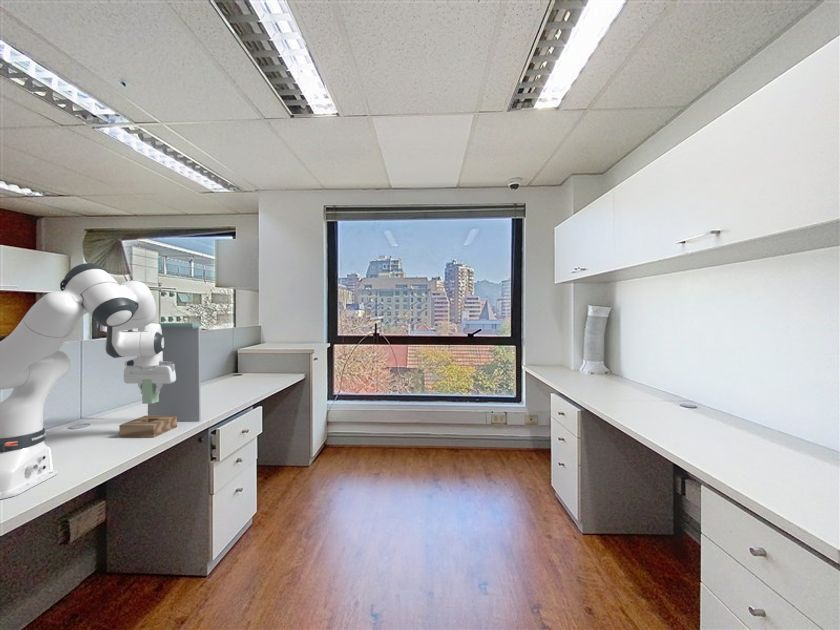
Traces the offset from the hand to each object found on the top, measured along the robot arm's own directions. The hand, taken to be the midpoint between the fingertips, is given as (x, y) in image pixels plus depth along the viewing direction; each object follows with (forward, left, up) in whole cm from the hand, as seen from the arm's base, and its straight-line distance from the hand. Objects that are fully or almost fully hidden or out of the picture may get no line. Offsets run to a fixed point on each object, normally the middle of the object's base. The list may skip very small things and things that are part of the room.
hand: (150, 393), depth 157 cm
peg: (0, 0, -4) cm, 4 cm away
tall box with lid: (+13, -4, -16) cm, 21 cm away
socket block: (0, +1, -16) cm, 16 cm away
